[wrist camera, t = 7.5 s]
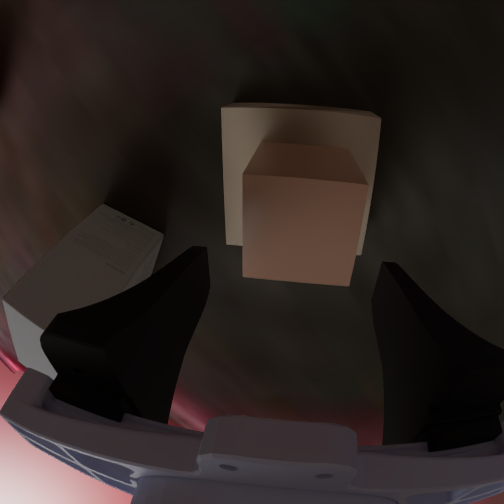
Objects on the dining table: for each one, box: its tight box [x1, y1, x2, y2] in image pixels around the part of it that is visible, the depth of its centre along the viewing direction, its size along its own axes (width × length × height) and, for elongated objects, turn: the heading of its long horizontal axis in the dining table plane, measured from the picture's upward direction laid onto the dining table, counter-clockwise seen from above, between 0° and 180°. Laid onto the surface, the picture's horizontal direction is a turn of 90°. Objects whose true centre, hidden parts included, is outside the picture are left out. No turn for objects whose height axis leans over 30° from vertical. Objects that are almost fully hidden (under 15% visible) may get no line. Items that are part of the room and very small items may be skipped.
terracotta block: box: [242, 142, 369, 286], centre depth 16 cm, size 5×5×6 cm
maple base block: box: [221, 103, 381, 255], centre depth 20 cm, size 9×9×4 cm
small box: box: [2, 204, 164, 380], centre depth 22 cm, size 8×6×13 cm
